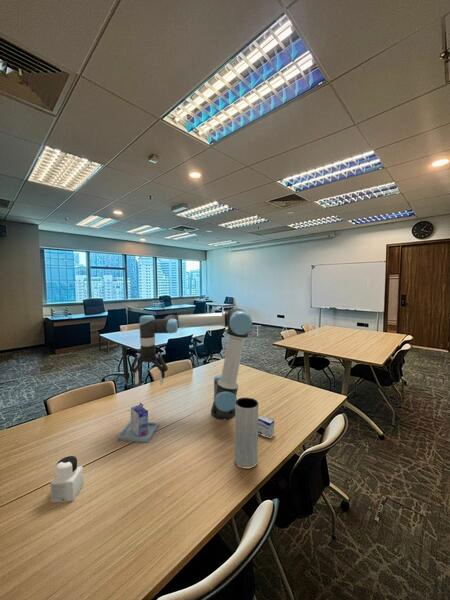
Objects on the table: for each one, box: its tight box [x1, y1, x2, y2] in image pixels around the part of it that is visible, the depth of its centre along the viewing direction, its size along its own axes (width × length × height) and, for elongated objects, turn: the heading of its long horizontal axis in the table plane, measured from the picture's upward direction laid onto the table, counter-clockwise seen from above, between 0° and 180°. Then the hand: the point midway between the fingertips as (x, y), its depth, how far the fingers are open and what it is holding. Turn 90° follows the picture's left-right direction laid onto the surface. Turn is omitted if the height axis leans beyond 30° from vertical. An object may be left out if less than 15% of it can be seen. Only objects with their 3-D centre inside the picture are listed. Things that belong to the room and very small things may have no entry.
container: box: [50, 455, 84, 503], centre depth 94 cm, size 8×8×13 cm
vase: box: [234, 397, 259, 467], centre depth 111 cm, size 10×10×27 cm
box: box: [258, 415, 275, 437], centre depth 132 cm, size 8×4×9 cm, turn 52°
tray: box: [116, 420, 159, 443], centre depth 132 cm, size 16×14×2 cm
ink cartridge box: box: [130, 402, 149, 437], centre depth 132 cm, size 10×6×14 cm, turn 44°
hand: (149, 383), depth 135 cm, fingers open, 13 cm apart
